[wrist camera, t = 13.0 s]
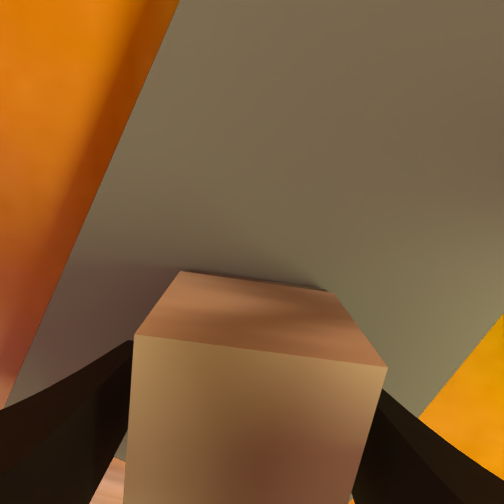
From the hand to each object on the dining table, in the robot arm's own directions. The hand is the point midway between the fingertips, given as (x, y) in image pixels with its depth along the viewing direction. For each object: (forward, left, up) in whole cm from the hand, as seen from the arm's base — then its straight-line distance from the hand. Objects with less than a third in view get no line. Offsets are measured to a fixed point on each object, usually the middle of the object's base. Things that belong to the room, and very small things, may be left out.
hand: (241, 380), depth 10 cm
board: (0, -4, -2) cm, 5 cm away
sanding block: (0, 0, -1) cm, 1 cm away
